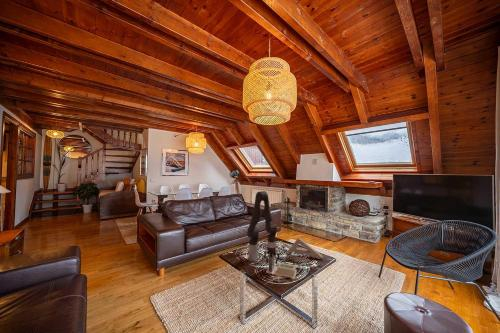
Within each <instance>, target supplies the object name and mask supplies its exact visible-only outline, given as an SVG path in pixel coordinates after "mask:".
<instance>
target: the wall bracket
mask: <svg viewBox="0 0 500 333" xmlns="http://www.w3.org/2000/svg"><path fill="white" fill-rule="evenodd" d="M299 245H301V246H302V248H300V247H298V246H299ZM293 253H298V254H299V253H301V254H306V255H308V256H309V257H311V258H313V259H315V258H316V259H318V260H319V259H320V260H322V259H323V258H324V257H323V255H322V254H321V253H320V252H318V251H317V250H316V249H314V247H313V246H311V245H310V244H308V243H307V242H306V241H304V240H303V239H302V238H301V237H299V236H298V237H297V238H296V240H295V241H294V242H293V243H292V245H291V246H290V247H289V249H288V250H287V251H286V255H290V254H293Z"/></svg>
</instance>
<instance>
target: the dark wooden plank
mask: <svg viewBox="0 0 500 333" xmlns="http://www.w3.org/2000/svg"><path fill="white" fill-rule="evenodd" d="M274 266H275V258H274V257H273V256H272V255H269V257H268V267H269V272H272V271H273V269H274Z"/></svg>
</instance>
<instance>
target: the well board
mask: <svg viewBox="0 0 500 333" xmlns="http://www.w3.org/2000/svg"><path fill="white" fill-rule="evenodd" d="M297 271H298V270H297V268H296V265H293V264H288V263H283V262H279V263H278V265H274V269H273V271H272V272H269V266H268V267H267V269H266V271H265V273H266V274H272V275H277V276H282V277H285V278H291V280H295V278H296V275H297Z"/></svg>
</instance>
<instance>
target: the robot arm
mask: <svg viewBox="0 0 500 333" xmlns="http://www.w3.org/2000/svg"><path fill="white" fill-rule="evenodd" d="M269 199H270V198H269V194H268V193H267V191H264V190H263V191H262V190H261V191H258V192H256V194H255V198H254V205H253V210H252V212H251V213H252V214H251V217H250V222H249V225H248V228H247V232H246V235H247V237H248V238H249V240H248V254H247V255H248V261H250V262H253V263H254V262H256V261H258V259H259V250H258V249H259V244H258V243H259V239H260V238H259V236H260V235H259V234H260V233H259V229H258V228H257V227H256V226H257V225H258V223H259V222H261V217H262V213H263V217H264V221H265V230H266V233H267V250H264V251H263V252H264V253H263V258H264V259H265V261H266V264H267V263H268V264H269V255H272V256H273V257H274V261H275V265H277V264H278V261H279V260H280V252H276V251H277V249H276V248H277V247H276V246H277V244H276V236H277V232H278V226H277V224H276V223H275V224H274V223H272V222H273V220H274V219H273V215H272V213H271V208H270V200H269ZM262 202H263V205H264V207H263V208H264V209H263V212H262V209H261V204H262ZM271 223H272V224H271Z"/></svg>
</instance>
